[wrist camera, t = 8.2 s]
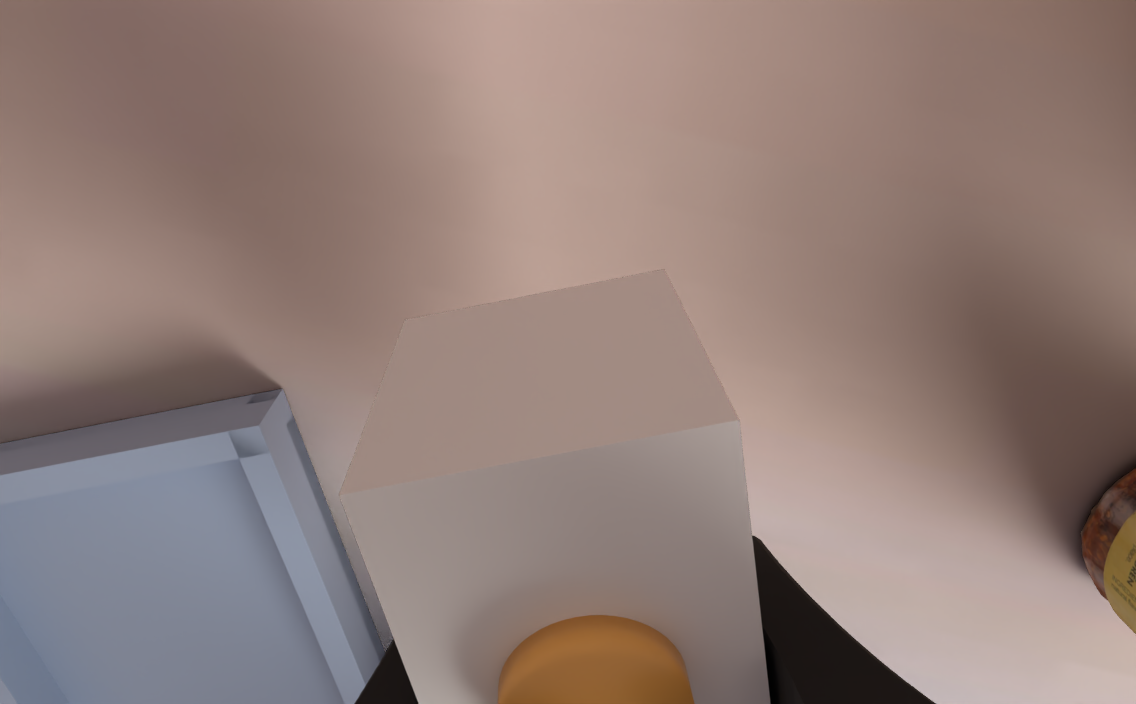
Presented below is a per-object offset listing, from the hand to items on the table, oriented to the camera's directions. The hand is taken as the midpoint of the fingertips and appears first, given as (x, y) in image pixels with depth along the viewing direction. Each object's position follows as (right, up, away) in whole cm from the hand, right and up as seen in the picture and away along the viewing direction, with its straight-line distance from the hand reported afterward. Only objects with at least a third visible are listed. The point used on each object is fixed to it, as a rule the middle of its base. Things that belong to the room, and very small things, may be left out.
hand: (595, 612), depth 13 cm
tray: (-12, -5, +11) cm, 17 cm away
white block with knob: (0, +1, +2) cm, 2 cm away
